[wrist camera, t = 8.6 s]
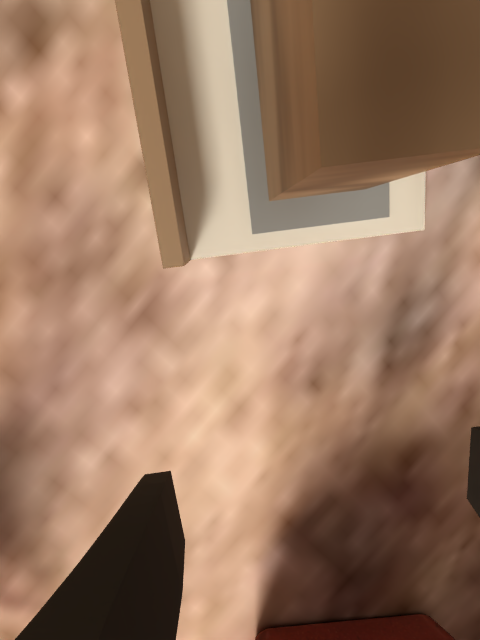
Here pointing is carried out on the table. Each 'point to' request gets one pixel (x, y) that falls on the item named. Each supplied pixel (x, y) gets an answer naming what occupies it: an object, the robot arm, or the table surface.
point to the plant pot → (363, 630)
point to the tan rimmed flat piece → (228, 142)
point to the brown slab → (364, 90)
